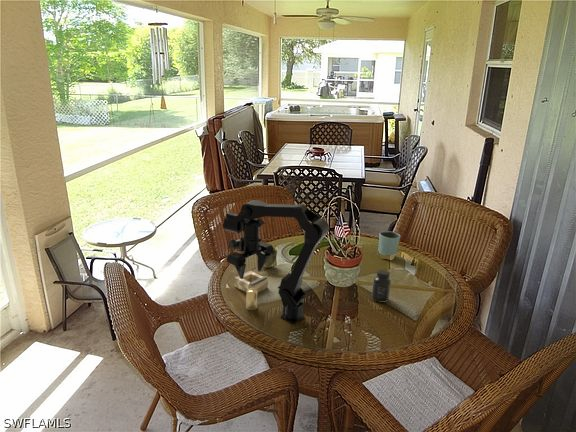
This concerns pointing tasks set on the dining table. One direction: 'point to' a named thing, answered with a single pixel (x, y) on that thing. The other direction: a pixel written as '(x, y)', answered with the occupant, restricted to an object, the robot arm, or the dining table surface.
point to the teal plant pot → (388, 242)
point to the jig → (251, 282)
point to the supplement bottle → (381, 286)
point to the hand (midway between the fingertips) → (250, 274)
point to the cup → (271, 259)
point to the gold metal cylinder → (251, 299)
